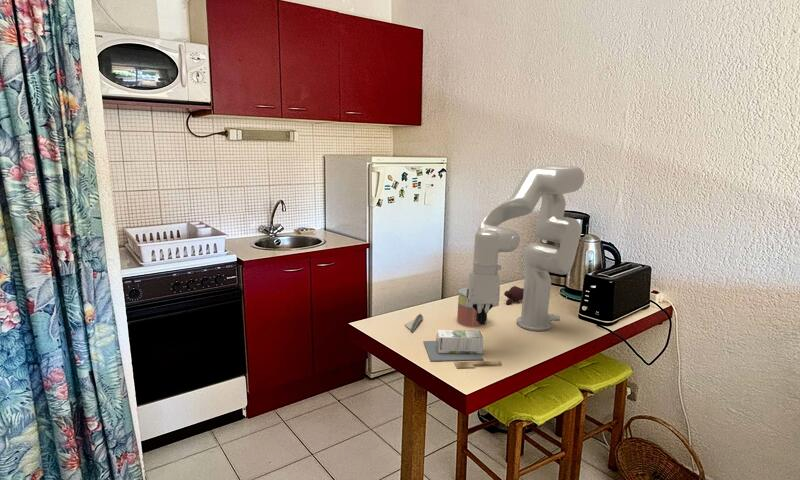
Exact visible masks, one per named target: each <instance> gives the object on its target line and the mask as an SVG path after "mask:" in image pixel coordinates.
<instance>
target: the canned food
mask: <svg viewBox="0 0 800 480" xmlns="http://www.w3.org/2000/svg"><path fill="white" fill-rule="evenodd" d="M466 290H467V286H466V287H462V288H460V289H458V301H457V316H456V317H457V318H456V322H457V323H458V324H459V325H461V326H462V327H466V328H476V329H477V328H482V327H484V326H486V325H487V320H488V319H487V320H486V321H485V325H483V324H482V325H480V324H479V323H478V321H476V314H477V311H476V310H475V309H474V308H473V307H468V306H467V305H466V301H467V299H466ZM482 309H483V304H481V310H482Z"/></svg>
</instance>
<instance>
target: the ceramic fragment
mask: <svg viewBox="0 0 800 480" xmlns="http://www.w3.org/2000/svg"><path fill="white" fill-rule="evenodd" d="M423 319H424V317H423V315H422V314H421V313H419V314H418V315H417V316H416V317H415V318H414V319H413V320H411V321H409V322H406V323H404V326H405V327H406V328H407V329H408V330H409V331H411V333H412V334H414V333H415V330H416V328H417V327H418V324H419V323H420V321H422V320H423Z"/></svg>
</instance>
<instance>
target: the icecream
mask: <svg viewBox="0 0 800 480" xmlns="http://www.w3.org/2000/svg"><path fill="white" fill-rule="evenodd" d="M523 292H524V287H521V288H520V287H519V286H516V285H513V286H511V287H510V288H509V290H505V291H504V293H503V295H504V296H505V297H506V298H507V300H506V302H505V304H506V305H508V306H509V305H510V304H512V303H513V302H521V301H523Z"/></svg>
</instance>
